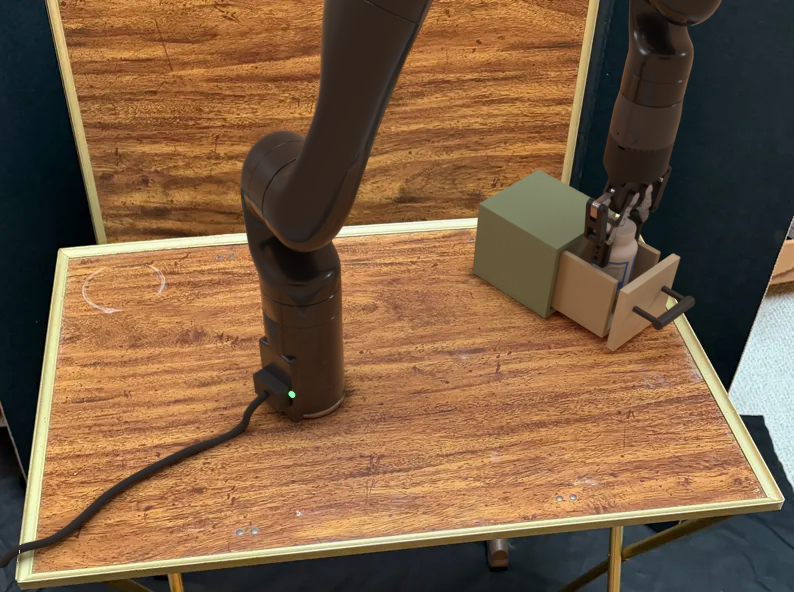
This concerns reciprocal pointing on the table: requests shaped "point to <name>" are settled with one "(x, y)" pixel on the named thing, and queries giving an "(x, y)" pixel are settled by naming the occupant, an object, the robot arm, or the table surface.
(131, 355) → the table surface
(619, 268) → the pill bottle
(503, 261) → the cabinet
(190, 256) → the table surface
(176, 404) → the table surface
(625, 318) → the drawer
